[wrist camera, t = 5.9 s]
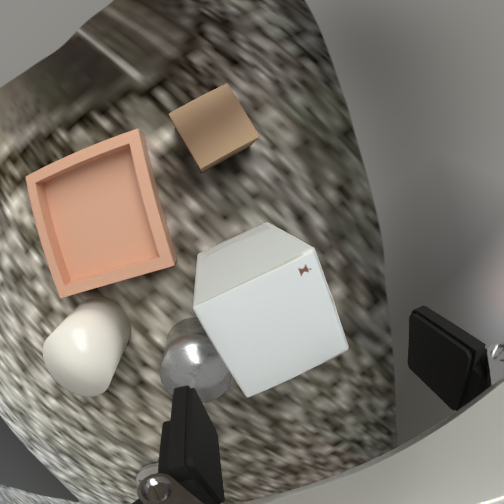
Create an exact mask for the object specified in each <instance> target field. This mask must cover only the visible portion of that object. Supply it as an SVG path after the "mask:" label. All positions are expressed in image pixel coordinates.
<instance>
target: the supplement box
mask: <svg viewBox="0 0 504 504" xmlns="http://www.w3.org/2000/svg"><path fill="white" fill-rule="evenodd" d="M193 310H194V312H195V314H196V316H197V318H198V320H199V321H200V323H201V325H202V327H203V329H204V330H205V332H206V334H207V335H208V337H209V339H210V340H211V342H212V344H213V346H214V347H215V349H216V351H217V352H218V354H219V356H220V357H221V359H222V360H223V362H224V364H225V365H226V367H227V368H228V370H229V372H230V373H231V375H232V376H233V378H234V379H235V381H236V382H237V384H238V385H239V387H240V388H241V390H242V391H243V393H244V394H245V396H246V397H251V396H253V395H256V394H258V393H260V392H263V391H265V390H267V389H270V388H272V387H274V386H276V385H279V384H281V383H283V382H285V381H287V380H289V379H292V378H294V377H296V376H298V375H300V374H302V373H304V372H306V371H308V370H310V369H312V368H314V367H316V366H318V365H320V364H322V363H324V362H326V361H328V360H330V359H332V358H334V357H336V356H338V355H340V354H342V353H344V352H346V351H347V350H348V343H347V340H346V337H345V334H344V331H343V328H342V325H341V322H340V319H339V316H338V313H337V310H336V307H335V303H334V300H333V297H332V295H331V293H330V290H329V287H328V285H327V282H326V279H325V276H324V273H323V271H322V268H321V265H320V262H319V260H318V257H317V254H316V251H315V249H314V248H313V247H311V246H310V245H308V244H306V243H304V242H302V241H301V240H299V239H297V238H295V237H294V236H292V235H290V234H288V233H286V232H285V231H283V230H281V229H279V228H277V227H275V226H274V225H272V224H270V223H268V222H265V223H263V224H261V225H259V226H257V227H254V228H252V229H250V230H248V231H246V232H244V233H241V234H239V235H237V236H235V237H233V238H231V239H228V240H226V241H224V242H222V243H220V244H217V245H215V246H213V247H211V248H209V249H207V250H205V251H203V252H200V253H199V254H198V255H197V264H196V276H195V289H194V301H193Z"/></svg>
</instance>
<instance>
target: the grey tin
mask: <svg viewBox="0 0 504 504" xmlns="http://www.w3.org/2000/svg"><path fill="white" fill-rule="evenodd" d="M160 376H161V381H162V383H163V385H164V387H165V388H166V390H167V391H168V392H169V393H170V394H171V395H173V392H174V388H177V387H182V386H187V385H188V386H189V387H190V388H195V390H196V392H197V394H198V396H199V398H200V400H201V402H202V403H205V402H209V401H212V400H214V399H216V398H218V397H220V396H221V395H222V394H223V393H224V392H225V391H226V390H227V388H228V386H229V384H230V379H231V375H230V372H229V370H228V368H227V367H226V365H225V364H224V362H223V360H222V359H221V357H220V356H219V354H218V352H217V351H216V349H215V347H214V346H213V344H212V342H211V340H210V339H209V337H208V335H207V334H206V332H205V330H204V329H203V327H202V325H201V323H200V321H199V320H198V318H188V319H184V320H182V321H180V322H178V323H176V324H175V325H174V326H173V327H172V328H171V330H170V332H169V334H168V337H167V342H166V346H165V351H164V356H163V361H162V366H161V372H160Z"/></svg>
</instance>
